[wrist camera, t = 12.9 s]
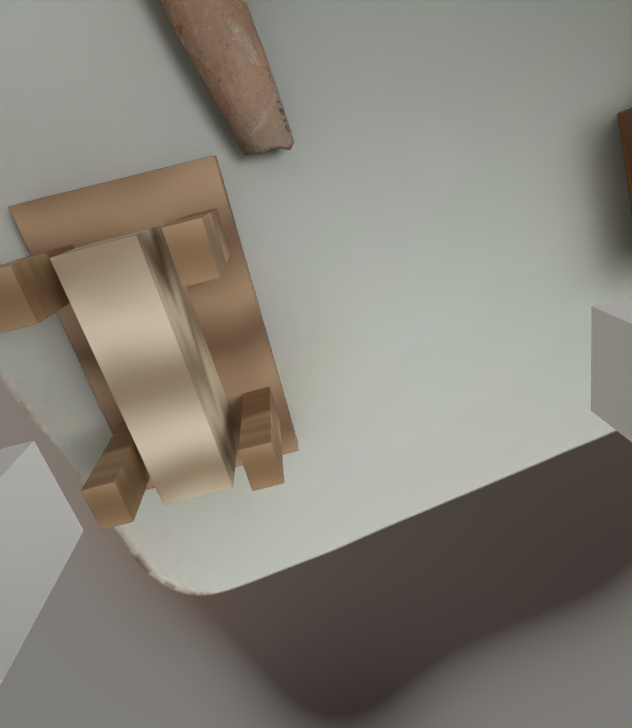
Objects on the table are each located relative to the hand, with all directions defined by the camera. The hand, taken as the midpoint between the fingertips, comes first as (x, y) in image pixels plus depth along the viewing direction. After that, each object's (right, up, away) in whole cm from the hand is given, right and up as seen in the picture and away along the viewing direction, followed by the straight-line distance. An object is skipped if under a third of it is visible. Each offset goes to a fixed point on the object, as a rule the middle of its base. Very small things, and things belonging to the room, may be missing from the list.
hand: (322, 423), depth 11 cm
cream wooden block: (-10, +3, +22) cm, 24 cm away
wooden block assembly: (-10, +3, +23) cm, 26 cm away
